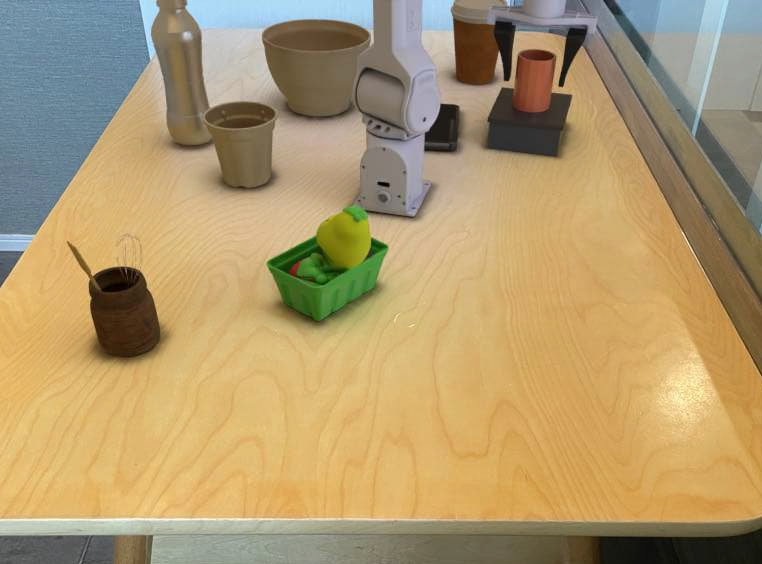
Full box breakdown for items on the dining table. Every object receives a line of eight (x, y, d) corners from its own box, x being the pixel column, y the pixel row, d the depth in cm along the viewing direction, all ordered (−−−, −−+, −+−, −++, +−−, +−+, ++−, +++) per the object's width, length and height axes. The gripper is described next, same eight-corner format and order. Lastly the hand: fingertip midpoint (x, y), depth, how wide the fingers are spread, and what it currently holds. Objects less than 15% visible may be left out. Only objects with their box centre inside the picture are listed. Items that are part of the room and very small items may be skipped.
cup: (547, 114, 115) (554, 63, 110) (510, 110, 116) (515, 59, 111) (551, 101, 119) (558, 51, 114) (515, 97, 120) (520, 47, 115)
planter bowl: (360, 130, 121) (359, 54, 114) (255, 122, 123) (247, 46, 115) (379, 92, 133) (379, 21, 126) (283, 85, 135) (278, 14, 127)
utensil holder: (173, 341, 80) (151, 232, 72) (115, 368, 77) (86, 257, 69) (142, 316, 84) (118, 209, 76) (85, 340, 80) (54, 231, 72)
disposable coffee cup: (437, 72, 140) (440, -3, 132) (485, 65, 143) (491, -9, 136) (463, 91, 134) (468, 12, 126) (513, 83, 137) (521, 6, 129)
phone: (401, 141, 115) (409, 101, 126) (401, 148, 116) (409, 109, 127) (457, 143, 115) (460, 104, 126) (457, 151, 115) (460, 111, 127)
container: (558, 157, 115) (563, 126, 112) (484, 148, 116) (487, 117, 114) (567, 124, 124) (572, 94, 121) (498, 116, 126) (501, 86, 123)
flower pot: (196, 184, 106) (186, 119, 101) (239, 158, 113) (232, 95, 107) (255, 201, 103) (248, 134, 98) (296, 172, 110) (292, 109, 104)
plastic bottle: (207, 152, 114) (185, -2, 101) (162, 148, 115) (134, -6, 102) (223, 134, 119) (204, -15, 106) (180, 130, 120) (155, -19, 107)
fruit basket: (339, 262, 92) (336, 168, 85) (400, 290, 88) (402, 193, 81) (266, 305, 85) (256, 206, 78) (328, 337, 81) (323, 236, 74)
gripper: (605, -27, 108) (588, 77, 117) (497, -36, 110) (488, 67, 119) (602, -14, 103) (583, 94, 111) (488, -24, 105) (479, 83, 114)
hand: (534, 81), depth 115 cm, fingers open, 7 cm apart
